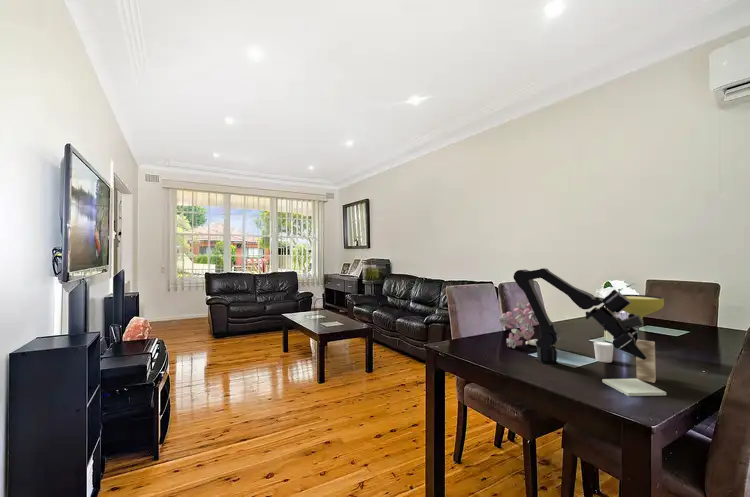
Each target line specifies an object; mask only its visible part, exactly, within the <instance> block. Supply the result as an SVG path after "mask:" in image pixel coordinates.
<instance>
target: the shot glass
mask: <svg viewBox="0 0 750 497" xmlns="http://www.w3.org/2000/svg"><path fill="white" fill-rule="evenodd" d="M593 347H594V355H595V360H596V361H597V362H601V363H612V362H613V356H614V355H613V354H614V346H613V343H611V342H606V341H593Z"/></svg>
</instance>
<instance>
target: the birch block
mask: <svg viewBox="0 0 750 497" xmlns="http://www.w3.org/2000/svg"><path fill="white" fill-rule="evenodd" d="M636 346H637V347H638V348H639V349H640V350H641V352H642V353H643V354H644V355H645V357H646V359H645V360H643V359H641V358H638V357H636V356H635V358H636V359H635V361H636V362H635V363H636V364H635V365H636V366H635V368H636V379H639V380H641V381H643V382H646V383H647V382H649V383H654V384H655V383H656V379H657V378H656V376H657V375H656V370H657V369H656V342H655V341H653V340H651V341H650V340H644V339H643V340H642V339H639V340H637V341H636Z"/></svg>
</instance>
